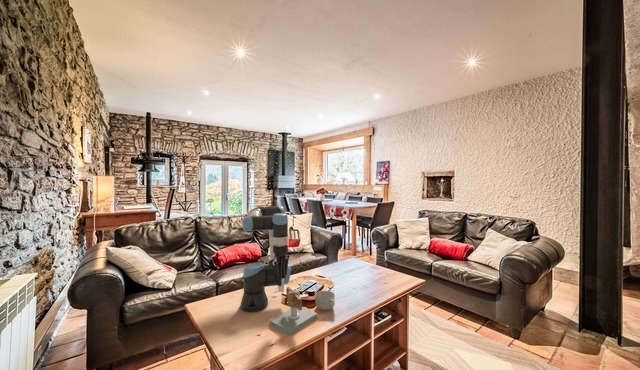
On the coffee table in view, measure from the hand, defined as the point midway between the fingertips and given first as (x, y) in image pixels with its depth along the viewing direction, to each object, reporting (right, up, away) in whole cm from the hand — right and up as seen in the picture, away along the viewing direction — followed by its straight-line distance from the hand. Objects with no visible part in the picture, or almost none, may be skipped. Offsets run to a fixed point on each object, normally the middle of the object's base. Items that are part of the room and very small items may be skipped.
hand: (281, 291), depth 132 cm
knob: (+6, -7, 0) cm, 9 cm away
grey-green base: (+6, -15, 0) cm, 17 cm away
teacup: (+23, -15, +12) cm, 30 cm away
